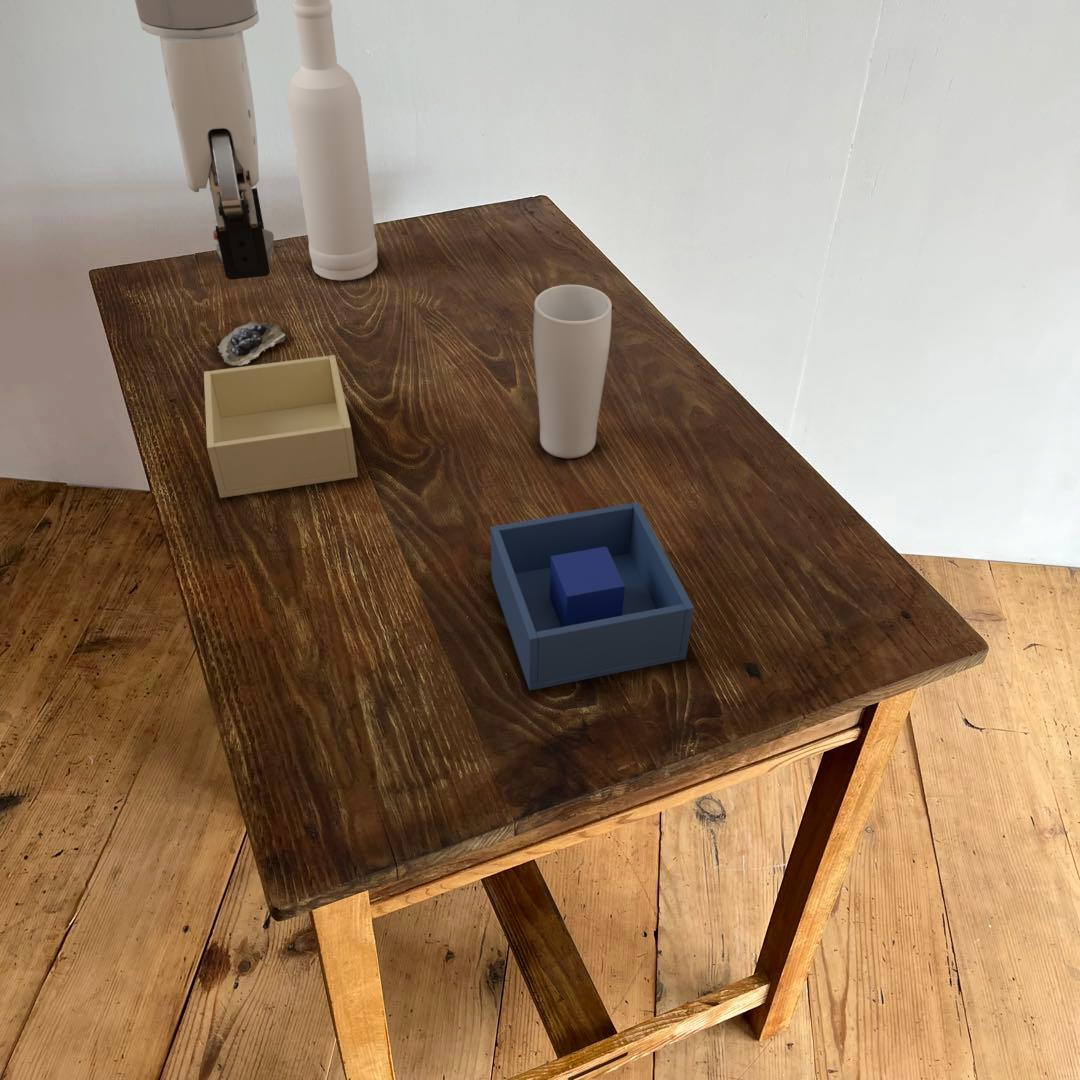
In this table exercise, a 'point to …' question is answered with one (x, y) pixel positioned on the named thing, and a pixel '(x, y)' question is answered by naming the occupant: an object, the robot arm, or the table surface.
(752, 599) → the table surface
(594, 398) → the drinking glass
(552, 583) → the blue block
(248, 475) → the cream bin
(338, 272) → the bottle
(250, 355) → the grey flat lumpy piece
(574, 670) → the blue bin
